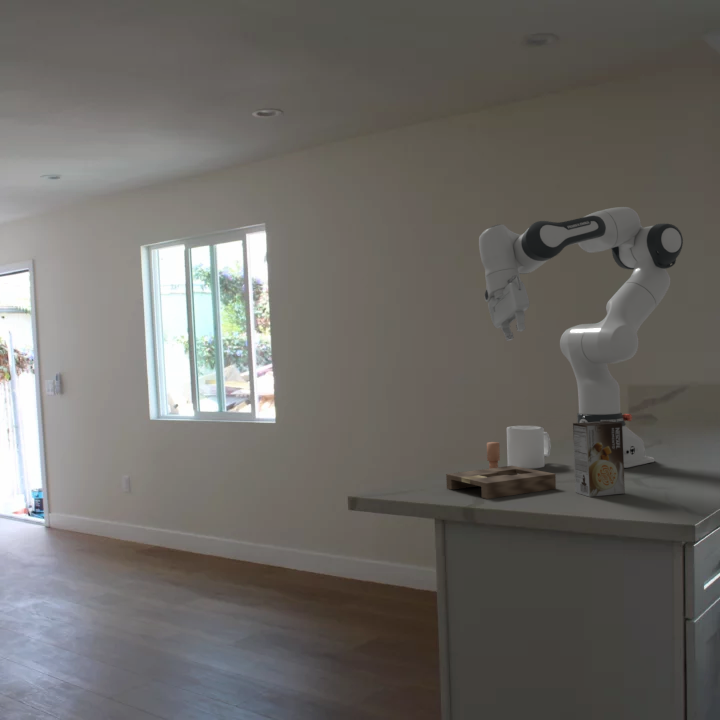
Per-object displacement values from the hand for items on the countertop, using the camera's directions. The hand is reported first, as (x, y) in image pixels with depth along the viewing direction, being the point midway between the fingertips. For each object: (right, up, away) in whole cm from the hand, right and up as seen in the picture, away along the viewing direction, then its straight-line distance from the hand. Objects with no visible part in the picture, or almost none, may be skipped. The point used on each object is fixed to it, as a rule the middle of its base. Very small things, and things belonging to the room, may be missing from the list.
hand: (515, 335), depth 208 cm
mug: (+7, -36, +16) cm, 40 cm away
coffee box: (+14, -37, -27) cm, 48 cm away
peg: (-6, -37, -2) cm, 37 cm away
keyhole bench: (-7, -37, -17) cm, 41 cm away
